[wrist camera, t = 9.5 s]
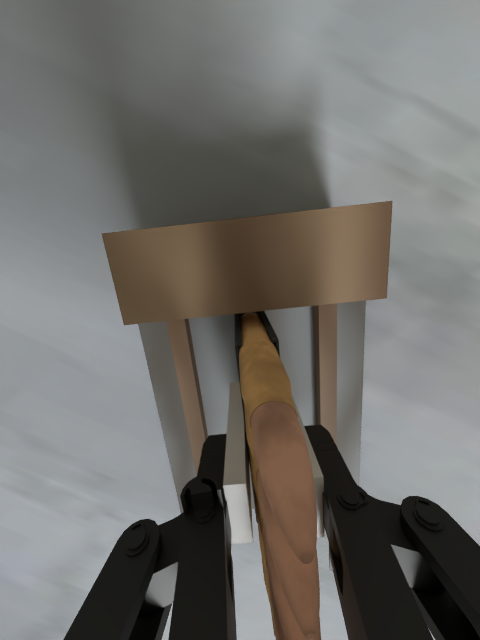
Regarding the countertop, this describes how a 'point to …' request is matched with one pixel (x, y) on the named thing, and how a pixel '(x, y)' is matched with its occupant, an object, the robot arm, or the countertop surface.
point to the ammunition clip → (279, 481)
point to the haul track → (251, 296)
